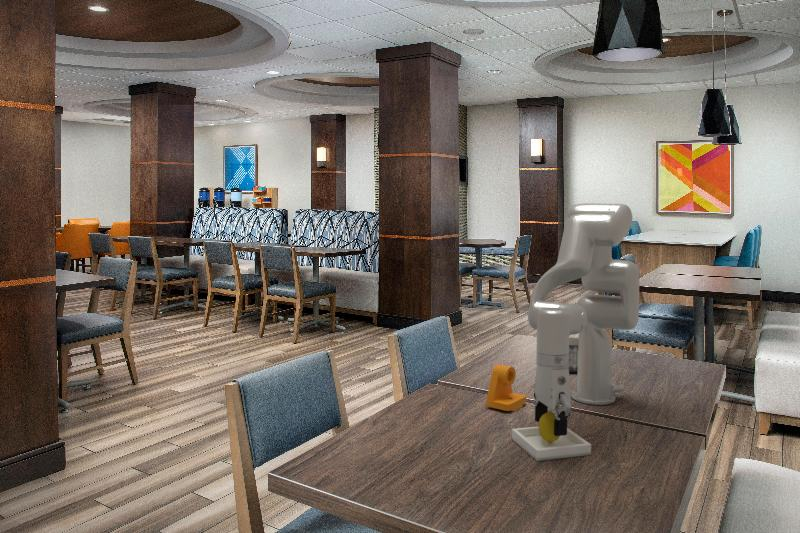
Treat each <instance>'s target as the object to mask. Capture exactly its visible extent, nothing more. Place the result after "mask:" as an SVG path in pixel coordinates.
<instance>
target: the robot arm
mask: <svg viewBox="0 0 800 533" xmlns="http://www.w3.org/2000/svg"><path fill="white" fill-rule="evenodd" d="M566 214H567V215H566V216H567V220H566V221H565V224H564V228H563V232H562V238H561V243H560V247H559V250H558V256H557V261H556V263H555V265H554V266H551V268H549V269H547V271H546V272H544V274H543V275H541V277H540V278H539V279H538V281H537V282H536V283H535V285H534V287H533V290H532V292H531V296H530V297H531V298H530V302H529V305H528V311H527V323H528V324H529V326H530V327H531V328H532V329H533V330H536V354H535V356H536V357H535V358H536V359H535V362H536V363H535V364H536V371H535V380H534V381H535V382H534V384H532V389H533V397H534V421H535V422H538V423H539V420H540V418H541V416H542V415H543V414H545V413H547V412H549V410H548V409H550V410H553V413H554V414H555V417H556V419H554V435H555V436H563V435H567V428H568V420H569V418H570V416H571V412H572V407H573V406H572V404H571V402H572V399H573V400H575V401H577V402H578V403H583V404H586V405H595V406H598V405H599V406H602V405H603V406H605V405H610V404H613V403H614V402H615V401H616V395H614V394H616V393H620V392H621V393H622V392H625V390H626V388H625V386H624V385H623V384H619V385H616V383H611V375H612V351H613V350H612V348H613V344H612V339H611V337H610V335H609V334H608V332H607V331H606V330H605V329H615V330H623V331H624V330H626V331H630V330H634V329H635V328H636V326H638V323H639V316H640V314H639V313H640V273H639V269H638V266H637V264H636V263H635V262H633V261H630V260H625V259H623V260H621V259H614V258H613V257H612V256H613V255H612V254H613V253H612V247H616V246H619V244H620V243H621V242H623V240H624V238H625V237H626V236H627V234H628V233H629V232H630V229H631V228H632V224H633V213H632V210H631V208H630V207H629V206H628V204H623V203H595V202H594V203H587V202H586V203H576V204H572V205H571V206H570V207H569V208H568V209H567V213H566ZM578 279H581V284H582V287H583V288H585V290H587V291H591V292H601V293H612V294H613V293H614V294H618V295H617V296H615V295H607V294H606V295H605V294H586V295H583V296H581V297H580V298H579V299H578V300H577V302H576V303H569V302H567V303H566V302H559V301H558V302H557V301H546V299H547V297H548V295H549V294H550V293H551V292H552V291H553V290H555V289H556V288H558V287H559V286H561V285H562V286H563V285H565V284H568V283H570V282H572V281H575V280H578ZM619 295H620V296H619ZM577 334H578V338H579V344H578V372H577V378H576V379H577V381H576V382H577V384H576V389H574V390H573V391H571V379H570V373H569V369H568V368H567V367H568V357H569V337H570V336H571V335H577ZM571 398H572V399H571ZM559 411H560V412H559Z"/></svg>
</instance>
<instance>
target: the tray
mask: <svg viewBox="0 0 800 533" xmlns="http://www.w3.org/2000/svg"><path fill="white" fill-rule="evenodd" d="M511 440H513V441H514V443H516V444H517V445H518V446H519V447H520V448H521V449H522V450H524V452H526V453H527V454H528V455H529V456H530V457H531V458H533V459H534V460H535V461H536V462H539V461H540V462H541V461H548V460H558V459H559V460H560V459H566V458H568V459H569V458H573V457H574V458H575V457H582V456H583V457H584V456H591V455H592V444H591V443H590V442H588V441H587V440H585V439H584V438H583V437H581V436H580V435H579V434H577V433H576V432H574V431H572V430H571V429H570V428H568V427H567V435H563V436H560V437H559V438H558V439H557V440H556V441H553V442H552V443H551V444H550V443H548V442H547V441H546V440H544V439H543V438H542V437H541V435H540V433H539V425H538V426H530V427H519V428H518V427H517V428H511Z"/></svg>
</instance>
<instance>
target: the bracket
mask: <svg viewBox="0 0 800 533" xmlns="http://www.w3.org/2000/svg"><path fill="white" fill-rule="evenodd" d="M515 379H516V369H515V367H514V366H511V365H504V364H499V363H497V364H496V365H494V367H493V368H492V371H491V377H490V381H489V382H490V383H489V384H488V385H489V386H488V391H487V395H486V407H489V408H491V409H492V408H493V409H498V410H500V411H504V412H512V413H513V412H515V411H517V410H519V409H521V408H523V407H524V405H525V404H526V403H527V396H526V395H525V394H520V393H517V392H513V388H512V385H513V384H514V382H515Z"/></svg>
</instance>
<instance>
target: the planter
mask: <svg viewBox="0 0 800 533" xmlns="http://www.w3.org/2000/svg"><path fill="white" fill-rule="evenodd" d="M578 344H579V337H574V336H569V357H568V367H567V368H568V369H569V372H576V373H578Z"/></svg>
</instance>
